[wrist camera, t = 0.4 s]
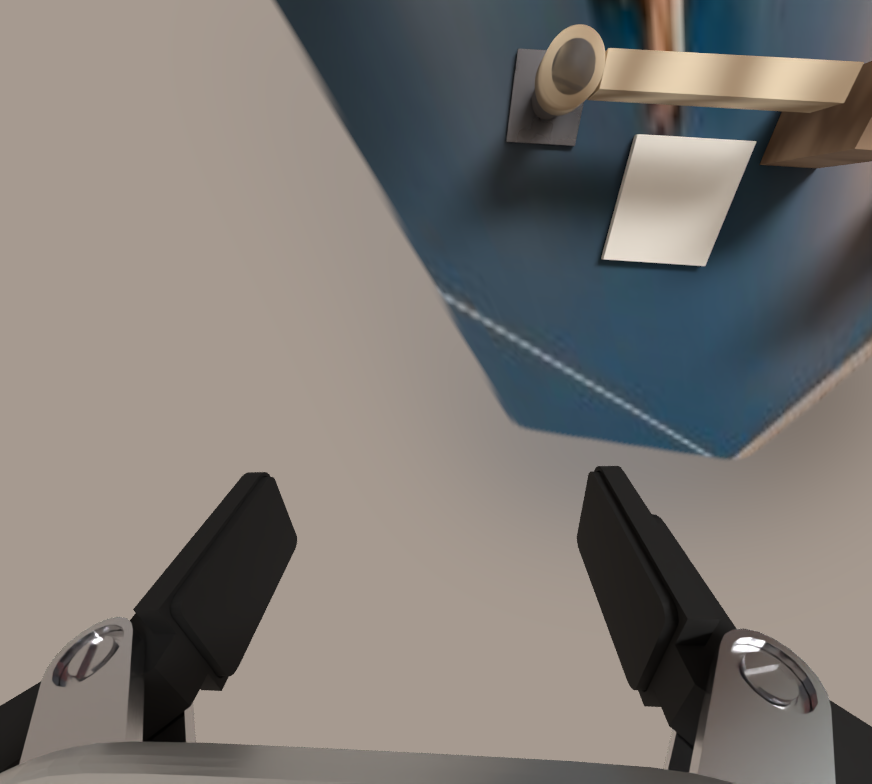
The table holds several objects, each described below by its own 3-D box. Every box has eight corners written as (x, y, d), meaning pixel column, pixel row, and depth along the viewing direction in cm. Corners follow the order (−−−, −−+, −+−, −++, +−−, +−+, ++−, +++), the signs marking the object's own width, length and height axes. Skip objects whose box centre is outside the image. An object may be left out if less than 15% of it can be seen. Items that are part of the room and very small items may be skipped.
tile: (634, 135, 29) (637, 134, 28) (751, 142, 29) (756, 141, 28) (600, 258, 34) (603, 259, 33) (701, 265, 34) (705, 266, 33)
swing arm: (520, 126, 29) (536, 104, 23) (529, 64, 27) (549, 22, 21) (757, 141, 28) (834, 122, 22) (783, 78, 26) (874, 40, 21)
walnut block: (790, 91, 27) (908, 47, 20) (853, 94, 27) (993, 52, 20) (759, 164, 30) (854, 148, 22) (816, 168, 29) (930, 153, 22)
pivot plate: (517, 50, 27) (518, 48, 27) (592, 54, 27) (593, 52, 26) (505, 142, 30) (506, 141, 29) (573, 146, 30) (574, 145, 29)
